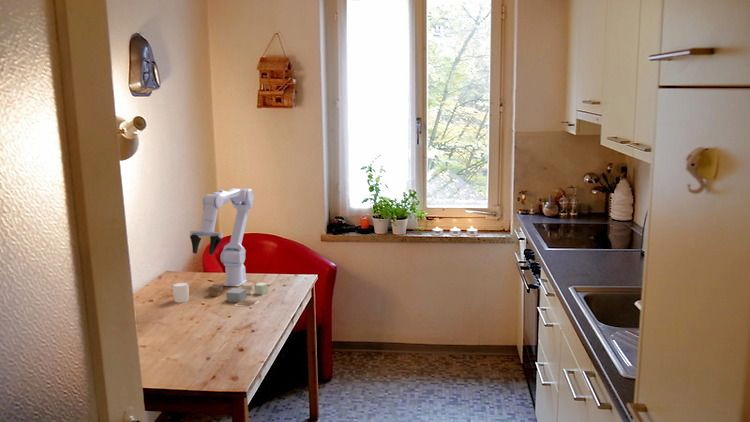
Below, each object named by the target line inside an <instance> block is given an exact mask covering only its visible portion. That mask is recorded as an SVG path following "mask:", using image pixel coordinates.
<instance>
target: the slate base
mask: <svg viewBox="0 0 750 422" xmlns="http://www.w3.org/2000/svg"><path fill="white" fill-rule="evenodd" d="M225 293H226V295H225V296H226V302H230V303H232V302H234V303H239V302H241V301H242V300H247V297H248V296H247V295H248V294H246V289H242V288H237V287H233V288H231V289H229V290H228V291H226V292H225Z"/></svg>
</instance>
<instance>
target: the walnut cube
mask: <svg viewBox="0 0 750 422" xmlns="http://www.w3.org/2000/svg"><path fill="white" fill-rule="evenodd" d="M208 289H209V290H208V291H209V296H210V297H212V296H213V297H219V296H222V294H223V285H222V284H216V283H214V284H211V285H210V286H209V288H208Z"/></svg>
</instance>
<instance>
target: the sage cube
mask: <svg viewBox="0 0 750 422" xmlns="http://www.w3.org/2000/svg"><path fill="white" fill-rule="evenodd" d="M268 284H269V283H266V282H261V281H260V282H258V283H256V284H255V283H254V295H262V296H263V295H265V294H267V293H268V292H269V285H268Z"/></svg>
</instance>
